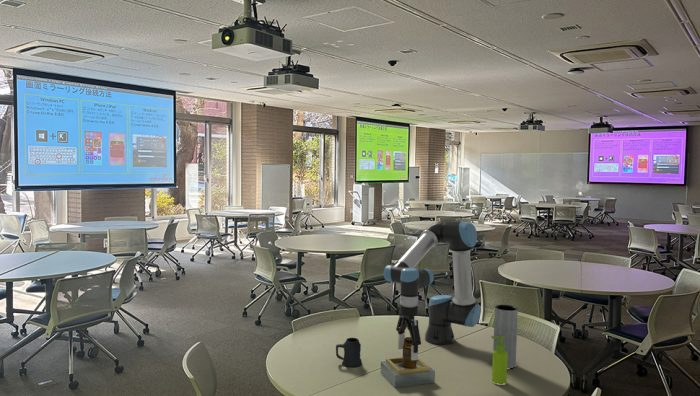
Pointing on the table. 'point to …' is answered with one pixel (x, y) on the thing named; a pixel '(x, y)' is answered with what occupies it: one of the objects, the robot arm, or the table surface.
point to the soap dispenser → (499, 362)
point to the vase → (506, 330)
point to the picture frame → (406, 373)
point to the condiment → (407, 356)
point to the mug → (350, 353)
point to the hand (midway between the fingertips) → (407, 354)
